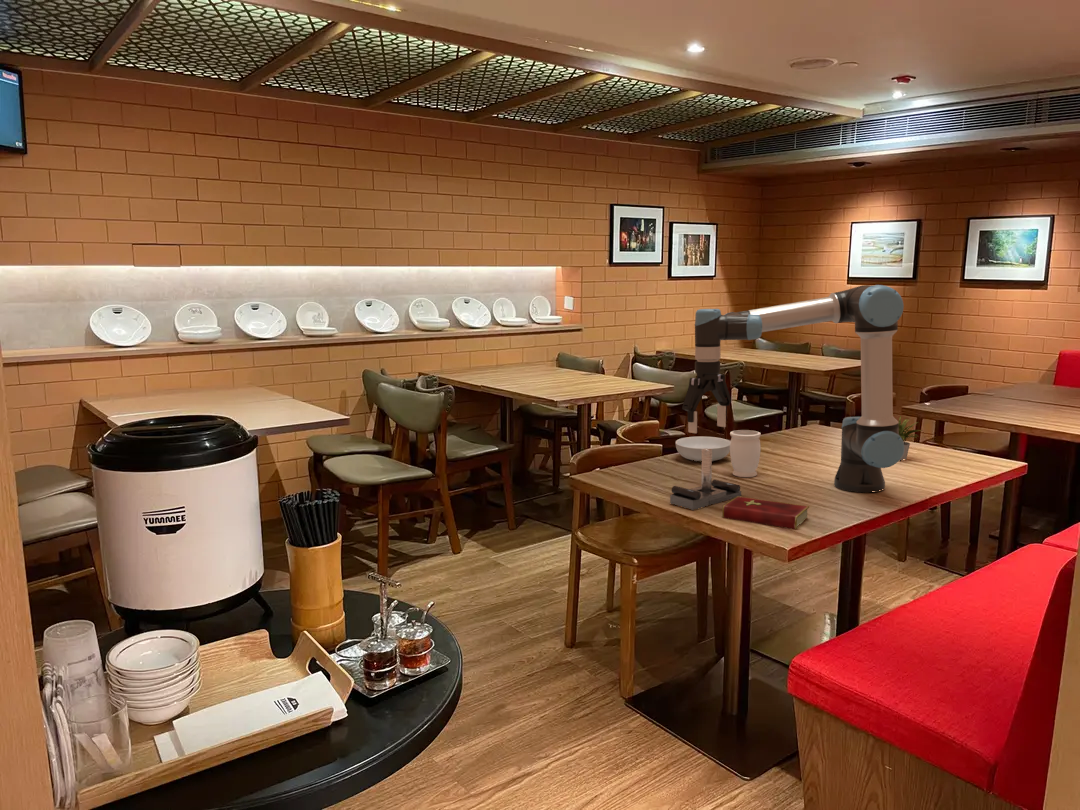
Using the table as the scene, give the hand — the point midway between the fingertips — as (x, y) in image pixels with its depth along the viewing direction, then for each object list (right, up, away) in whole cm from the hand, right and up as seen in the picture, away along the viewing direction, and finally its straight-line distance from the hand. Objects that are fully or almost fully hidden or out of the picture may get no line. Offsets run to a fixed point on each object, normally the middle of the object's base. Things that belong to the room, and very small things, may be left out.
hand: (707, 429), depth 234 cm
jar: (+20, -17, +33) cm, 42 cm away
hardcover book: (+13, -25, -15) cm, 33 cm away
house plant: (+80, -13, +48) cm, 95 cm away
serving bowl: (+11, -13, +57) cm, 60 cm away
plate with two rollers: (+1, -22, +3) cm, 22 cm away
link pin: (+1, -22, +4) cm, 22 cm away
